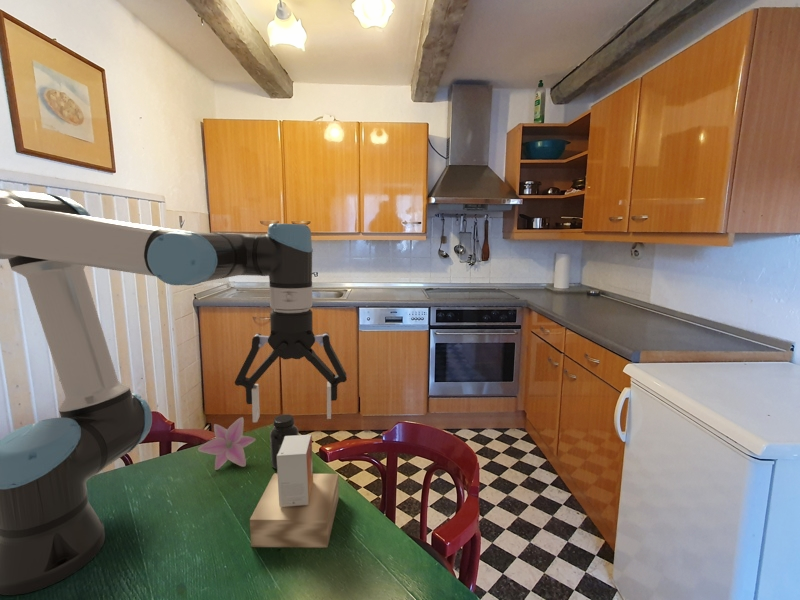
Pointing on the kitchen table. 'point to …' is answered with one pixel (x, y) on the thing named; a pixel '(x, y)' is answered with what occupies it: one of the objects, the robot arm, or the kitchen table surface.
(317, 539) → the riser
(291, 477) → the small box
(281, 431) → the supplement bottle
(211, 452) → the lily
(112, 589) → the kitchen table surface
